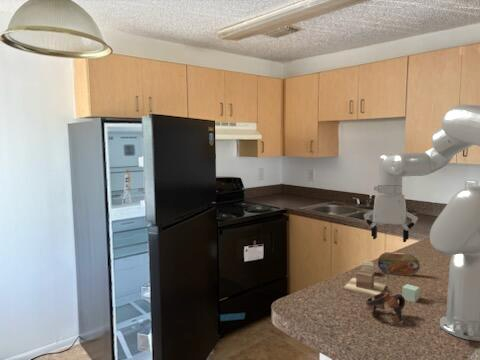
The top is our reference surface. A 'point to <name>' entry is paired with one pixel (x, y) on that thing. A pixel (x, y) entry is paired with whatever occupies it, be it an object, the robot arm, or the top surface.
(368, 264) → the maple block
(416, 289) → the sage block
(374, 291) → the plate
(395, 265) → the tin
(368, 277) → the walnut block
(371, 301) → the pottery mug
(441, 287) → the top surface
